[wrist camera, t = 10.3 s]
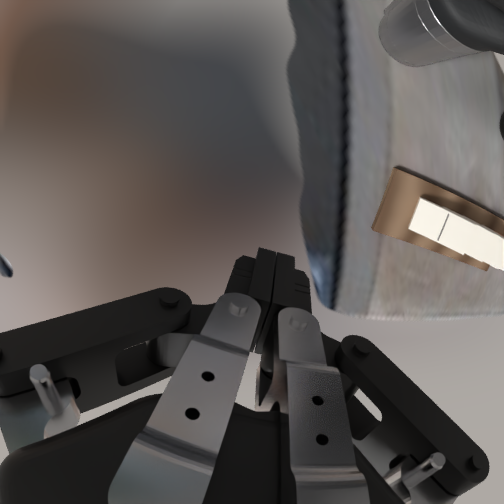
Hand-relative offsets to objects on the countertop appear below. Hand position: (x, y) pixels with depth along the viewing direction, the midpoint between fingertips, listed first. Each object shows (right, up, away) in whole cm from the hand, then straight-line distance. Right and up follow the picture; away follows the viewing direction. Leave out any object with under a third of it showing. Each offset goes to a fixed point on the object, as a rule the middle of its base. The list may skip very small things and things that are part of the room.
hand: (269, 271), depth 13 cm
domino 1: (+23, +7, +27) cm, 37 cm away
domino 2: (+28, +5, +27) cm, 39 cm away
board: (+31, +5, +29) cm, 43 cm away
